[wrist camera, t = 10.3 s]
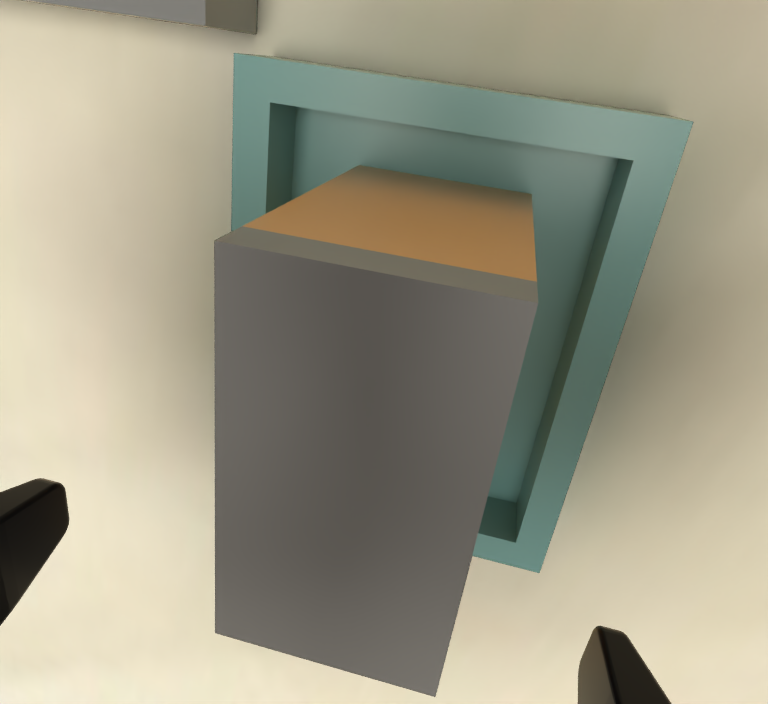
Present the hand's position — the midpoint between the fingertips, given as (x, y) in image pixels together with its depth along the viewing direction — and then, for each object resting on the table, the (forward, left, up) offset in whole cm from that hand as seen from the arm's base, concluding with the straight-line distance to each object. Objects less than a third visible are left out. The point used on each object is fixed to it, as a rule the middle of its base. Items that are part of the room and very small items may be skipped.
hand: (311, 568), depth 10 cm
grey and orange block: (0, 0, -11) cm, 11 cm away
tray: (0, 0, -11) cm, 11 cm away
